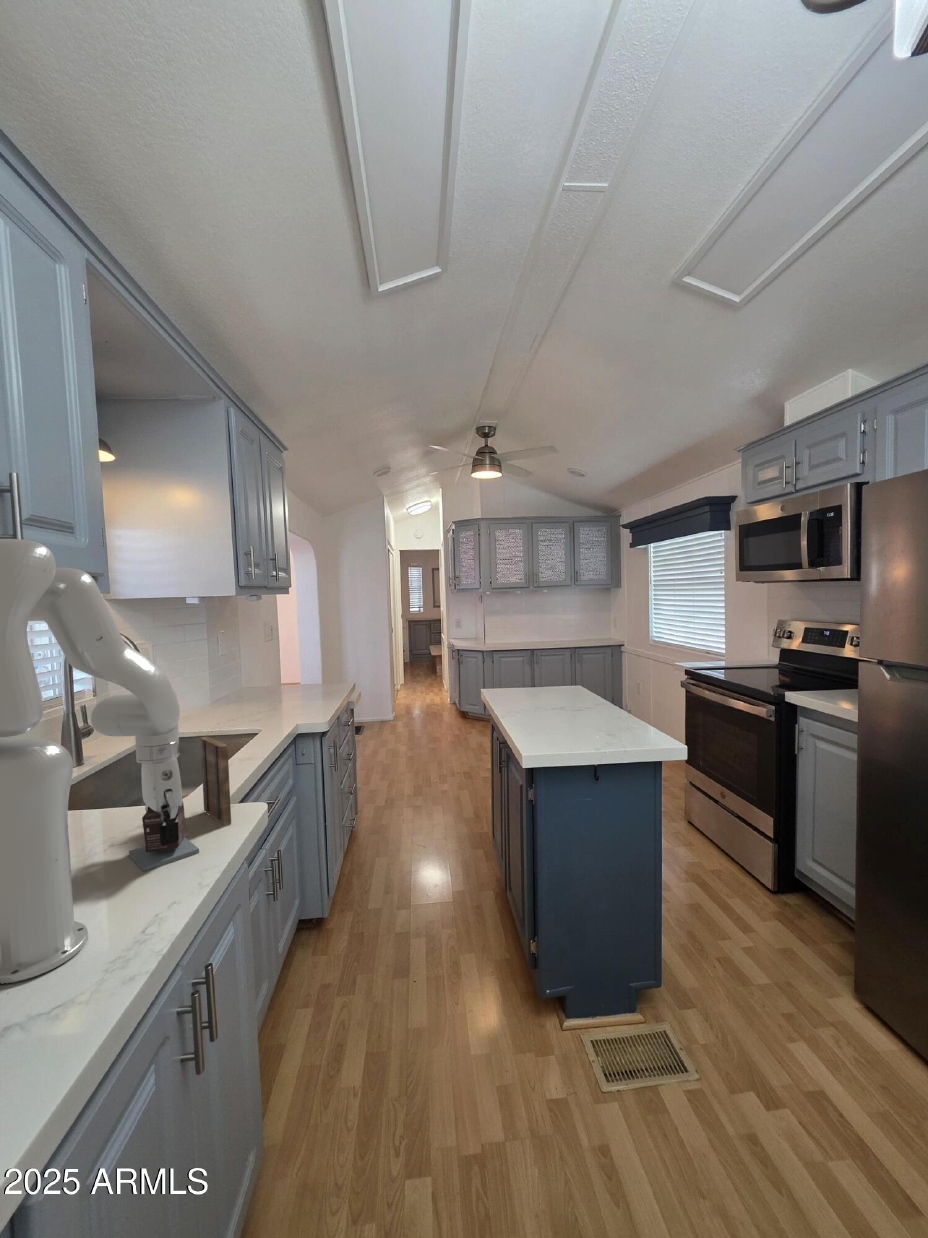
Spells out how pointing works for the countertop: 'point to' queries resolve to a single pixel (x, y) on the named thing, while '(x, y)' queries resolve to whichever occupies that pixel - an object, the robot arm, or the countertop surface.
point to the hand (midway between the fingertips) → (162, 836)
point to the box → (153, 832)
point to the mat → (162, 855)
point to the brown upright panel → (216, 780)
